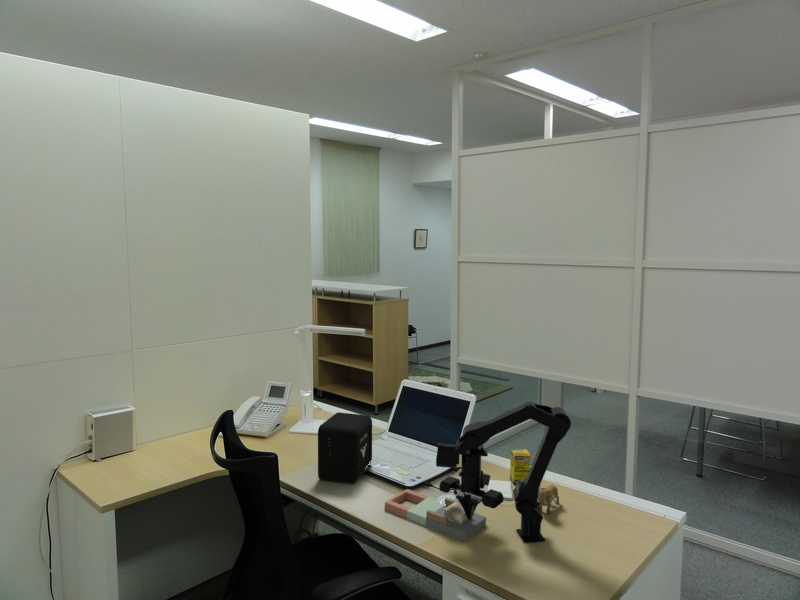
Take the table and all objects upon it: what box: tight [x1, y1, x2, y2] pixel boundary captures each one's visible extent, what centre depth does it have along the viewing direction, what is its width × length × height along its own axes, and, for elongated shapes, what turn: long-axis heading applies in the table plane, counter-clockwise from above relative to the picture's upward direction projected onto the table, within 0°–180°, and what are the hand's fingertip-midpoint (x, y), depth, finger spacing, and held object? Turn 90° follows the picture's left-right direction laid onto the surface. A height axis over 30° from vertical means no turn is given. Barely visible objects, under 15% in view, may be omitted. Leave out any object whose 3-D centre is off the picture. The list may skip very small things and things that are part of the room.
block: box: [444, 502, 469, 525], centre depth 160 cm, size 6×6×3 cm
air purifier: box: [317, 411, 373, 484], centre depth 196 cm, size 20×15×20 cm
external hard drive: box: [487, 479, 513, 501], centre depth 184 cm, size 2×8×12 cm
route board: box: [384, 488, 487, 543], centre depth 165 cm, size 30×12×4 cm, turn 53°
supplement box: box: [509, 449, 531, 485], centre depth 191 cm, size 6×6×11 cm
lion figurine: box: [537, 484, 560, 515], centre depth 171 cm, size 15×5×9 cm, turn 153°
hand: (469, 519), depth 157 cm, fingers closed
